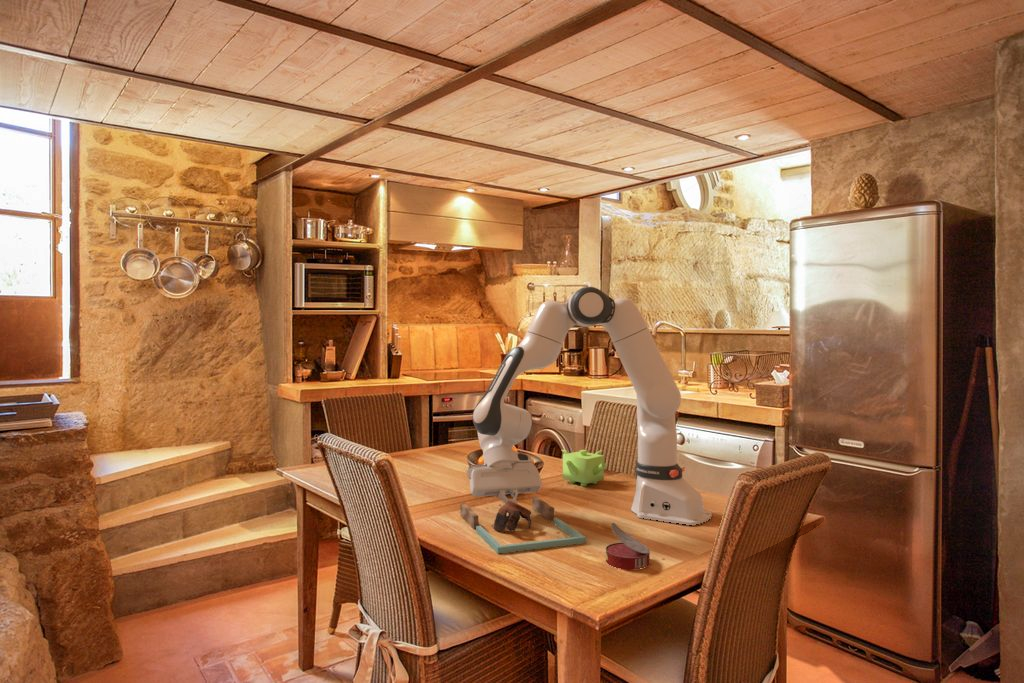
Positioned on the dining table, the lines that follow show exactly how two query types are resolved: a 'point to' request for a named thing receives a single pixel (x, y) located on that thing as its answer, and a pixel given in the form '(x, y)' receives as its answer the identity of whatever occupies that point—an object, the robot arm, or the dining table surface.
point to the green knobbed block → (583, 467)
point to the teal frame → (575, 539)
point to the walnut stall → (536, 505)
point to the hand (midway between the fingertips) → (511, 506)
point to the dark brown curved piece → (511, 516)
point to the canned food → (626, 551)
